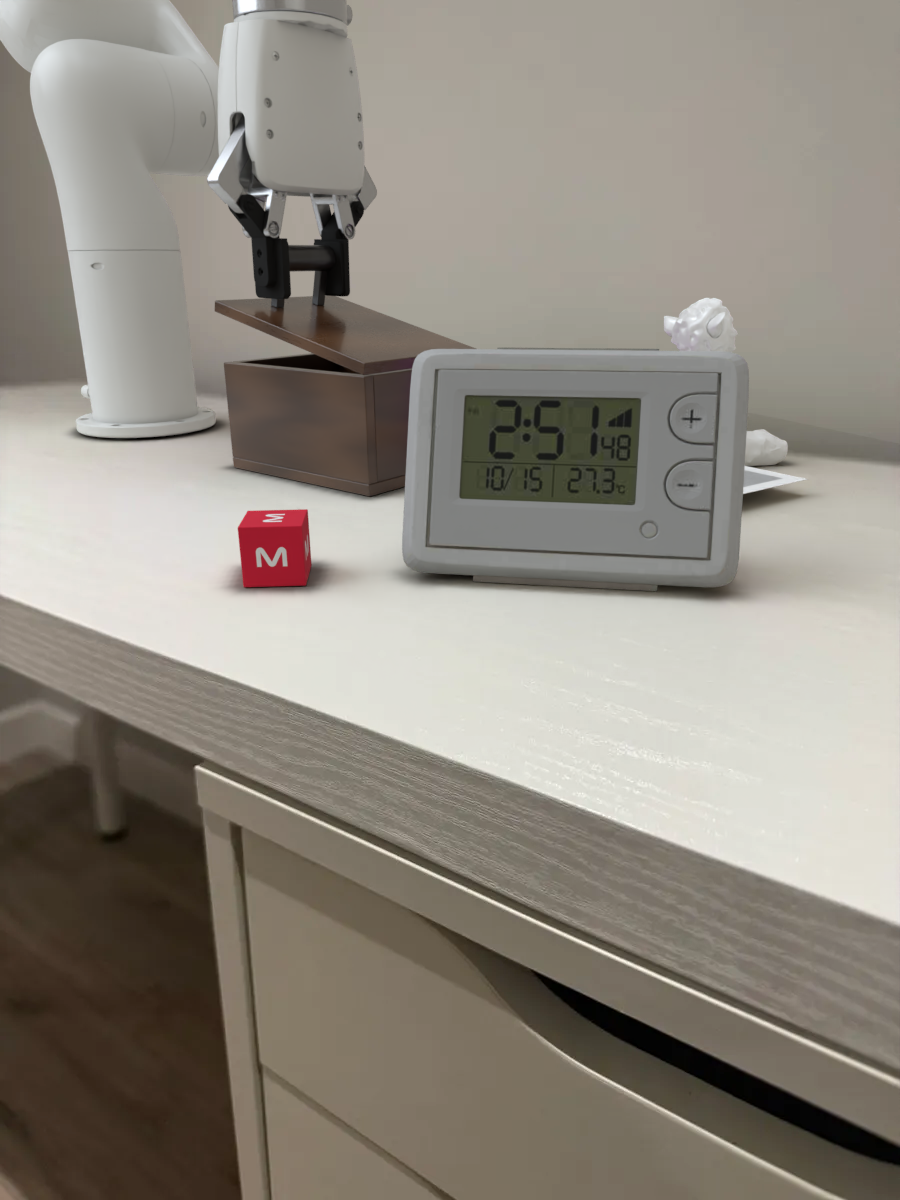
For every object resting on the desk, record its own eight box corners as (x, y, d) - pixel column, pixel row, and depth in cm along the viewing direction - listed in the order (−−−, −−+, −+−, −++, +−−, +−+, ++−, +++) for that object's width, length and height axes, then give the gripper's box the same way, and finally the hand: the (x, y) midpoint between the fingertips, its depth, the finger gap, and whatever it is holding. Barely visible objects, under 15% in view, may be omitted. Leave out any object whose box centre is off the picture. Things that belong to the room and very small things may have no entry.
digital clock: (384, 578, 43) (376, 355, 39) (451, 529, 51) (450, 339, 47) (727, 622, 38) (756, 367, 34) (743, 560, 46) (768, 347, 42)
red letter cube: (252, 567, 45) (247, 510, 44) (311, 565, 45) (307, 509, 44) (243, 587, 42) (237, 527, 41) (306, 585, 42) (301, 525, 41)
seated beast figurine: (790, 463, 67) (812, 297, 63) (719, 480, 62) (738, 301, 58) (690, 445, 74) (704, 294, 70) (619, 458, 69) (629, 297, 65)
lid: (214, 311, 64) (216, 236, 61) (332, 305, 72) (338, 239, 69) (363, 375, 56) (373, 292, 53) (476, 359, 64) (489, 287, 62)
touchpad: (554, 505, 56) (555, 472, 55) (710, 473, 64) (713, 444, 63) (645, 534, 50) (647, 497, 49) (805, 495, 58) (810, 462, 57)
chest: (233, 467, 67) (223, 362, 65) (343, 444, 76) (338, 350, 73) (369, 496, 59) (364, 376, 56) (477, 466, 67) (477, 360, 64)
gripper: (343, 38, 67) (351, 291, 74) (144, -10, 55) (175, 298, 62) (417, 25, 63) (418, 295, 69) (218, -31, 50) (243, 304, 57)
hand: (303, 294), depth 65 cm, fingers closed on lid, 5 cm apart
